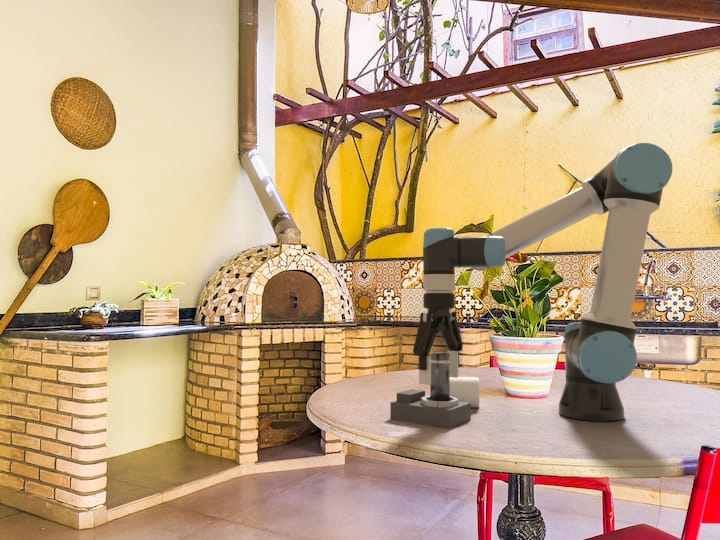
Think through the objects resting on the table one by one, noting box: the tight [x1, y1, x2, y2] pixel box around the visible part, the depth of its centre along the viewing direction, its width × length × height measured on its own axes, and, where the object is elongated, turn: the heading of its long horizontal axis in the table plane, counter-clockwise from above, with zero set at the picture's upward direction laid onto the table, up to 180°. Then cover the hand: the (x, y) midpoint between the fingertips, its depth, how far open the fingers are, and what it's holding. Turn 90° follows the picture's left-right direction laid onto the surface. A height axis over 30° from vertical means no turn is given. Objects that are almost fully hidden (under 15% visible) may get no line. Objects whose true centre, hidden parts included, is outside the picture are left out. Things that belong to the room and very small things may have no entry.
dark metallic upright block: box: [429, 351, 450, 401], centre depth 135 cm, size 5×5×12 cm
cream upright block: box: [450, 376, 480, 409], centre depth 153 cm, size 12×10×8 cm
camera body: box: [389, 388, 472, 429], centre depth 136 cm, size 16×11×6 cm
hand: (439, 380), depth 135 cm, fingers open, 13 cm apart
